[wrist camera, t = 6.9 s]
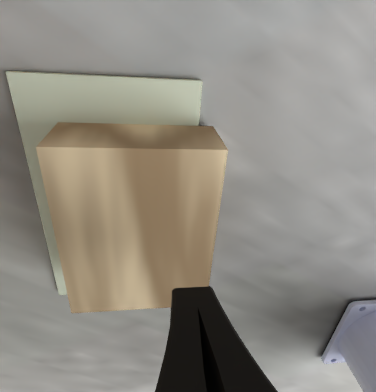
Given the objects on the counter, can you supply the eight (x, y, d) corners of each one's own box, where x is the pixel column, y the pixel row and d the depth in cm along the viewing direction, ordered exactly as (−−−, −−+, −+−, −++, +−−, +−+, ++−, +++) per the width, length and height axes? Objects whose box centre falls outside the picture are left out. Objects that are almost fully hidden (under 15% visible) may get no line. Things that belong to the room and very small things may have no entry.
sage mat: (201, 79, 13) (202, 81, 13) (184, 284, 19) (185, 288, 19) (8, 70, 12) (5, 72, 12) (60, 291, 18) (59, 295, 18)
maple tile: (227, 149, 11) (35, 147, 10) (205, 305, 16) (71, 313, 15) (212, 126, 14) (57, 122, 13) (197, 265, 18) (82, 270, 17)
